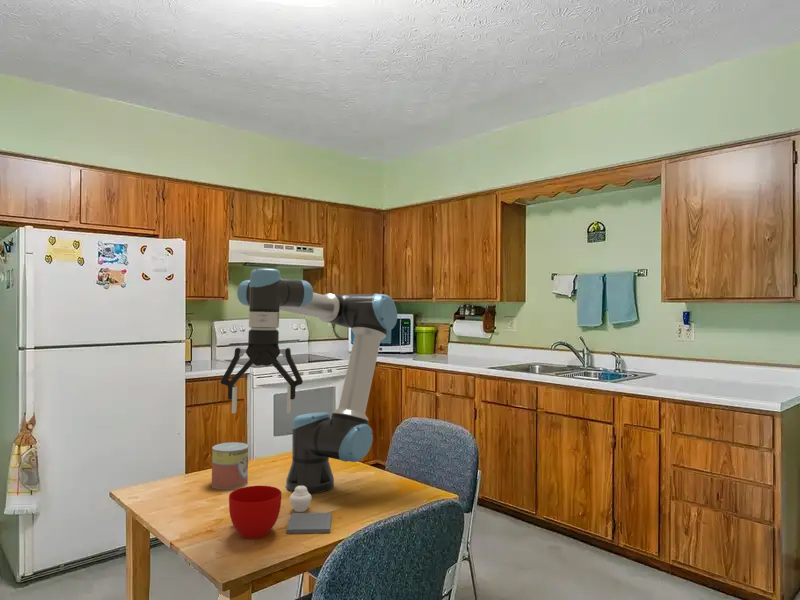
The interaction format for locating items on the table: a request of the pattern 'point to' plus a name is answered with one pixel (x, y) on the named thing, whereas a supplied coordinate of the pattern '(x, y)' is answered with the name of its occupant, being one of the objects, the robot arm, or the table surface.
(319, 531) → the coaster
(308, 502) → the white fluted round figurine
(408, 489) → the table surface
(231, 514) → the ceramic cup
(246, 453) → the canned food
